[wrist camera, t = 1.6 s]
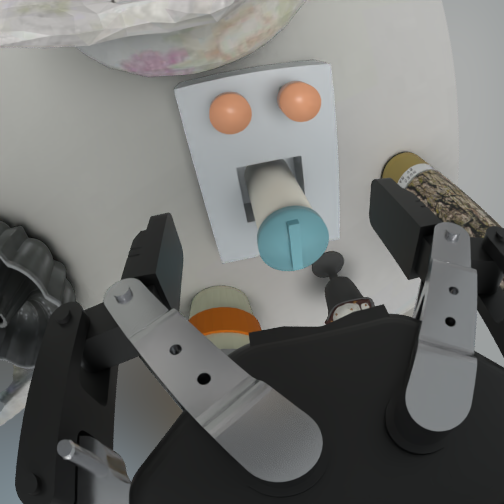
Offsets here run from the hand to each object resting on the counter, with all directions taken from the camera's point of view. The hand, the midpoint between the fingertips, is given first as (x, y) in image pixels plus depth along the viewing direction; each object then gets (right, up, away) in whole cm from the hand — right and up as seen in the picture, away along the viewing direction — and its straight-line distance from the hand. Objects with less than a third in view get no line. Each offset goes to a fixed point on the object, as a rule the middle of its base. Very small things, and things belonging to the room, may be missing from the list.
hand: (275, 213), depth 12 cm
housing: (0, +9, +22) cm, 24 cm away
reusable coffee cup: (-6, -10, +36) cm, 38 cm away
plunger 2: (+2, +13, +13) cm, 18 cm away
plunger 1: (-3, +11, +13) cm, 18 cm away
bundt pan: (-38, -4, +27) cm, 47 cm away
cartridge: (+1, +7, +22) cm, 23 cm away
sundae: (+10, -3, +33) cm, 35 cm away
